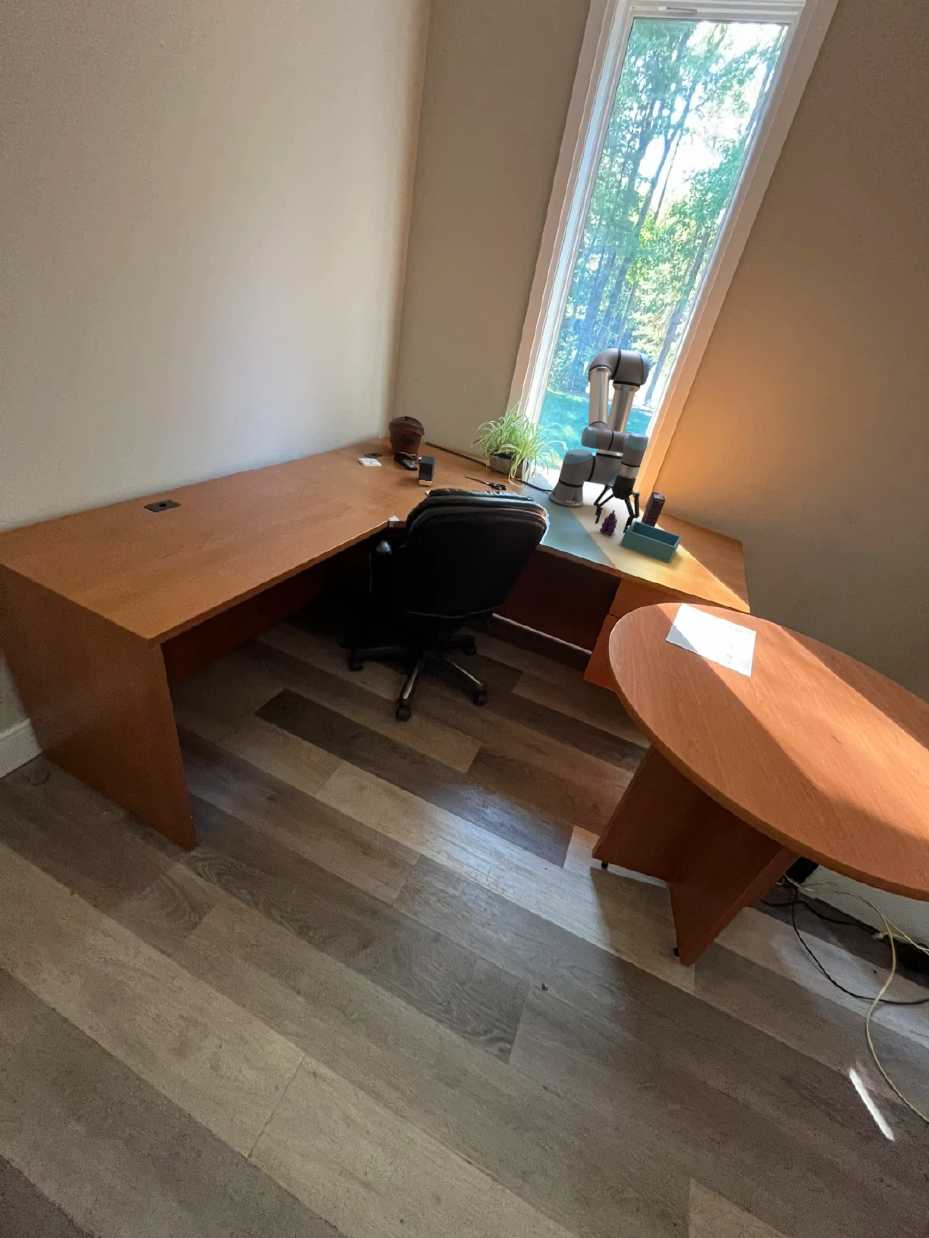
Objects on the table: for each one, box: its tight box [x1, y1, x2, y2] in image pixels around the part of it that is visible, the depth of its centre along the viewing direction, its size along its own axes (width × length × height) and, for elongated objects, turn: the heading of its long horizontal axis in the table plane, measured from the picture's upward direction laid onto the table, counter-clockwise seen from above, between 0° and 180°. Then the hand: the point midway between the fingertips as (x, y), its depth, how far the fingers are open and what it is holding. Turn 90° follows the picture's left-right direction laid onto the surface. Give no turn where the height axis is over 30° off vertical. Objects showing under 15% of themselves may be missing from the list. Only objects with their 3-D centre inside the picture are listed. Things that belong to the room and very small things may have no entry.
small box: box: [417, 455, 436, 481], centre depth 220 cm, size 11×6×10 cm, turn 178°
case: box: [387, 415, 425, 456], centre depth 247 cm, size 18×20×18 cm
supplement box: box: [640, 491, 666, 528], centre depth 210 cm, size 9×5×16 cm, turn 168°
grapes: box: [599, 509, 618, 537], centre depth 202 cm, size 5×5×11 cm
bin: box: [620, 520, 683, 564], centre depth 196 cm, size 20×14×7 cm
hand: (610, 527), depth 202 cm, fingers open, 11 cm apart
